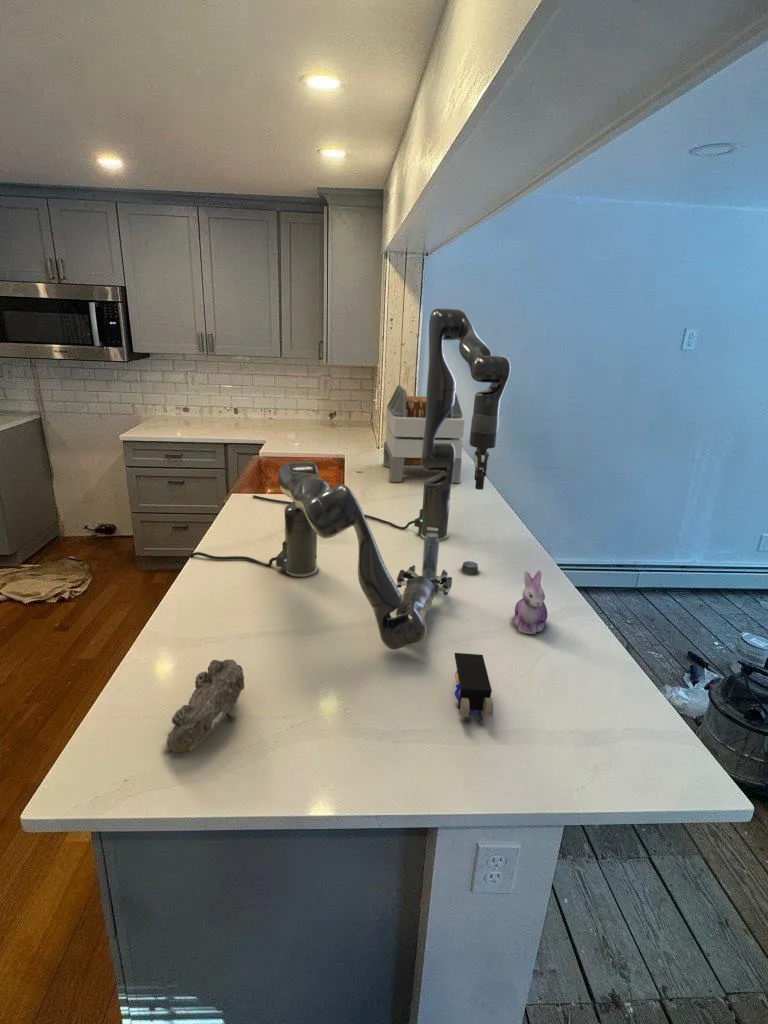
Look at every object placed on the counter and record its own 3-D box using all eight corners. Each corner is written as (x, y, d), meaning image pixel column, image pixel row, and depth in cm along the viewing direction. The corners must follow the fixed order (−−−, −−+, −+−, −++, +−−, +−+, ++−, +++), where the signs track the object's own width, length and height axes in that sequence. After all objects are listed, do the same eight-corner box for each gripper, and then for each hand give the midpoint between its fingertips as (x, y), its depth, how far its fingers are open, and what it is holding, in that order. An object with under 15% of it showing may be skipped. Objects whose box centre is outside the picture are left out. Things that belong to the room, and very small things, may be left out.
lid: (480, 573, 172) (480, 566, 171) (466, 575, 171) (466, 568, 170) (472, 567, 176) (473, 560, 175) (459, 569, 175) (460, 561, 174)
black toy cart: (492, 733, 109) (479, 678, 122) (498, 704, 105) (484, 650, 119) (458, 733, 109) (448, 677, 122) (462, 703, 105) (452, 650, 119)
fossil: (192, 660, 117) (244, 628, 112) (224, 691, 120) (276, 661, 115) (142, 746, 98) (202, 712, 93) (182, 779, 101) (242, 748, 96)
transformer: (382, 463, 289) (386, 382, 275) (445, 464, 293) (451, 384, 279) (390, 482, 257) (394, 392, 243) (460, 483, 261) (468, 394, 247)
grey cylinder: (419, 587, 162) (423, 531, 157) (434, 587, 163) (438, 531, 157) (421, 593, 158) (425, 537, 153) (435, 594, 159) (440, 537, 153)
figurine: (529, 639, 138) (537, 584, 133) (502, 619, 147) (509, 567, 142) (558, 631, 142) (567, 577, 137) (530, 612, 151) (538, 561, 146)
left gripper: (446, 588, 140) (455, 562, 155) (390, 579, 143) (404, 554, 158) (444, 614, 142) (453, 586, 157) (389, 605, 145) (403, 578, 160)
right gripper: (470, 423, 166) (465, 477, 171) (471, 433, 152) (465, 491, 158) (496, 425, 165) (490, 478, 170) (499, 435, 152) (493, 493, 157)
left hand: (428, 570), depth 157 cm, fingers open, 8 cm apart
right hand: (478, 484), depth 164 cm, fingers open, 8 cm apart
